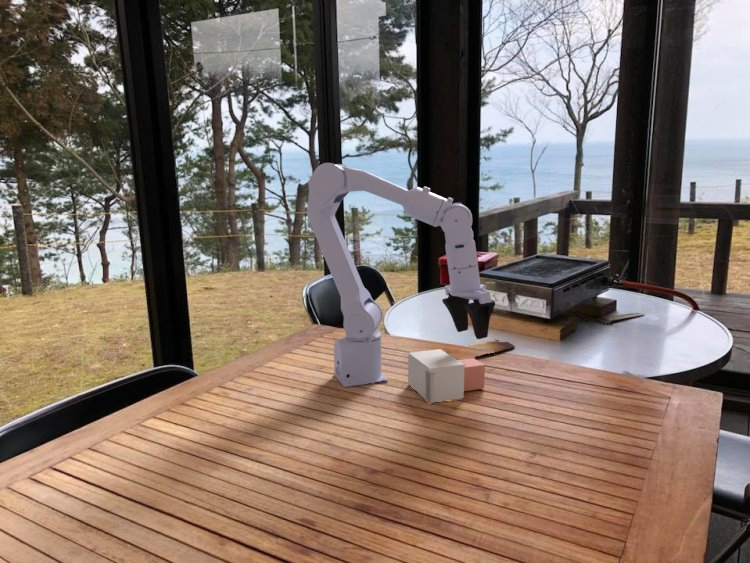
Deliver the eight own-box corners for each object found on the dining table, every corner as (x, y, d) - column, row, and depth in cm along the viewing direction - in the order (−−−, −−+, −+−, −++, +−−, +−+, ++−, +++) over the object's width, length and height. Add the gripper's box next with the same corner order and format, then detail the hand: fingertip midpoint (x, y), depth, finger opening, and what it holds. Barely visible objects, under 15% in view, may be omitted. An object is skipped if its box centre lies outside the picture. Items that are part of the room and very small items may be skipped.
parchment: (496, 339, 142) (496, 336, 142) (524, 348, 134) (524, 345, 134) (418, 357, 130) (417, 353, 130) (444, 368, 121) (444, 364, 121)
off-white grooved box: (429, 404, 101) (430, 368, 100) (408, 385, 110) (408, 352, 109) (463, 399, 103) (464, 364, 102) (439, 381, 113) (440, 349, 111)
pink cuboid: (433, 395, 104) (433, 371, 103) (423, 387, 108) (423, 364, 108) (484, 388, 108) (484, 364, 107) (472, 380, 112) (473, 357, 111)
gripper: (501, 265, 101) (510, 336, 103) (463, 260, 115) (471, 323, 117) (467, 272, 99) (477, 345, 101) (432, 266, 112) (441, 331, 114)
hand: (471, 334), depth 109 cm, fingers open, 7 cm apart
